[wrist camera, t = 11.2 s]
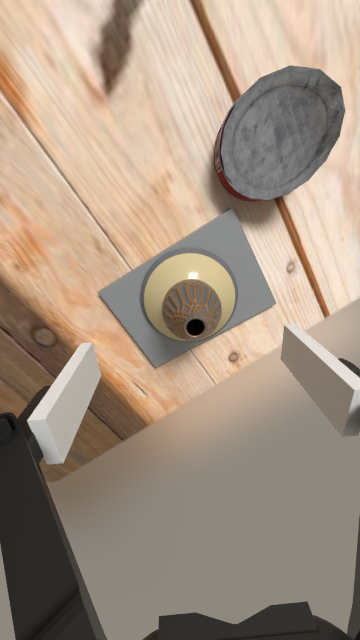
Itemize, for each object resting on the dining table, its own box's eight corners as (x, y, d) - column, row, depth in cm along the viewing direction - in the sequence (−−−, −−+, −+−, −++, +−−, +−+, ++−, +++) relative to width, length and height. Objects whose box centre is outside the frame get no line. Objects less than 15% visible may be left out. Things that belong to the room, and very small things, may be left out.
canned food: (281, 174, 32) (331, 204, 25) (210, 198, 31) (242, 234, 25) (296, 48, 23) (379, 45, 16) (198, 79, 23) (243, 89, 16)
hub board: (99, 290, 32) (95, 295, 30) (231, 207, 29) (235, 207, 27) (155, 364, 37) (154, 372, 35) (274, 301, 33) (280, 306, 32)
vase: (212, 325, 32) (225, 360, 24) (161, 322, 32) (158, 357, 24) (219, 275, 30) (236, 296, 22) (164, 271, 29) (161, 291, 21)
